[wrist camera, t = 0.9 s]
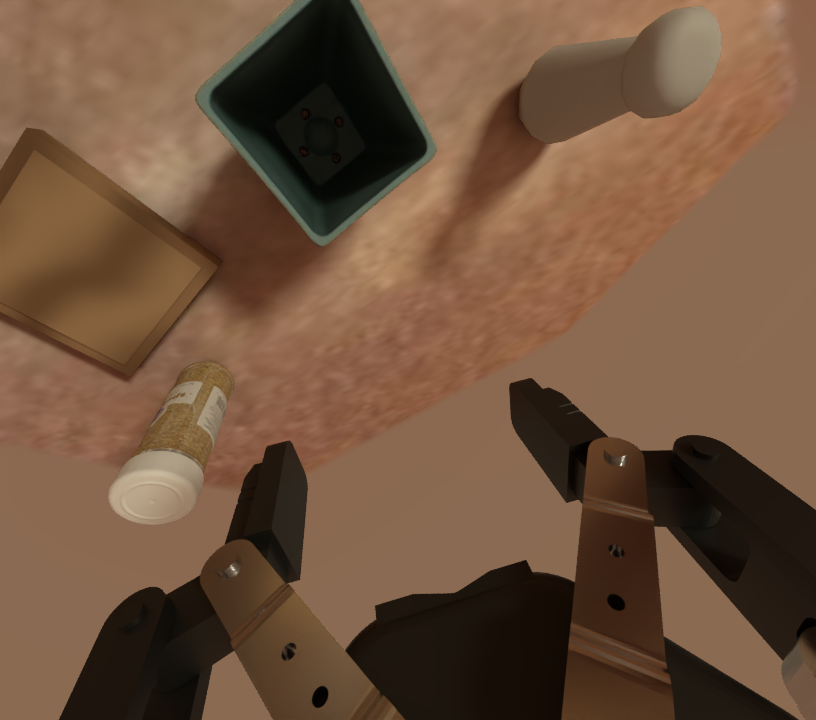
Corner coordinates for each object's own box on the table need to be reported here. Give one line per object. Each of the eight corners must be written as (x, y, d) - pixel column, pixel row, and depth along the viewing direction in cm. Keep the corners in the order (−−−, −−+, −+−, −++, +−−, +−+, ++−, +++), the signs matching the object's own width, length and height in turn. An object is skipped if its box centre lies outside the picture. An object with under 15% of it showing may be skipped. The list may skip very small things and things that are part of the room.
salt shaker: (542, 160, 30) (678, 158, 19) (492, 116, 28) (614, 84, 17) (588, 87, 28) (767, 38, 17) (539, 33, 26) (711, -64, 15)
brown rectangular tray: (-46, 273, 24) (-68, 279, 23) (42, 129, 22) (24, 127, 21) (137, 367, 30) (129, 377, 29) (222, 262, 28) (218, 267, 27)
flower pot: (405, 155, 28) (442, 151, 20) (317, 228, 29) (320, 251, 21) (328, 26, 23) (338, -43, 15) (227, 117, 24) (188, 96, 16)
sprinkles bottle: (184, 354, 31) (109, 467, 19) (241, 367, 32) (203, 478, 21) (175, 397, 32) (100, 525, 21) (229, 407, 34) (188, 531, 23)
